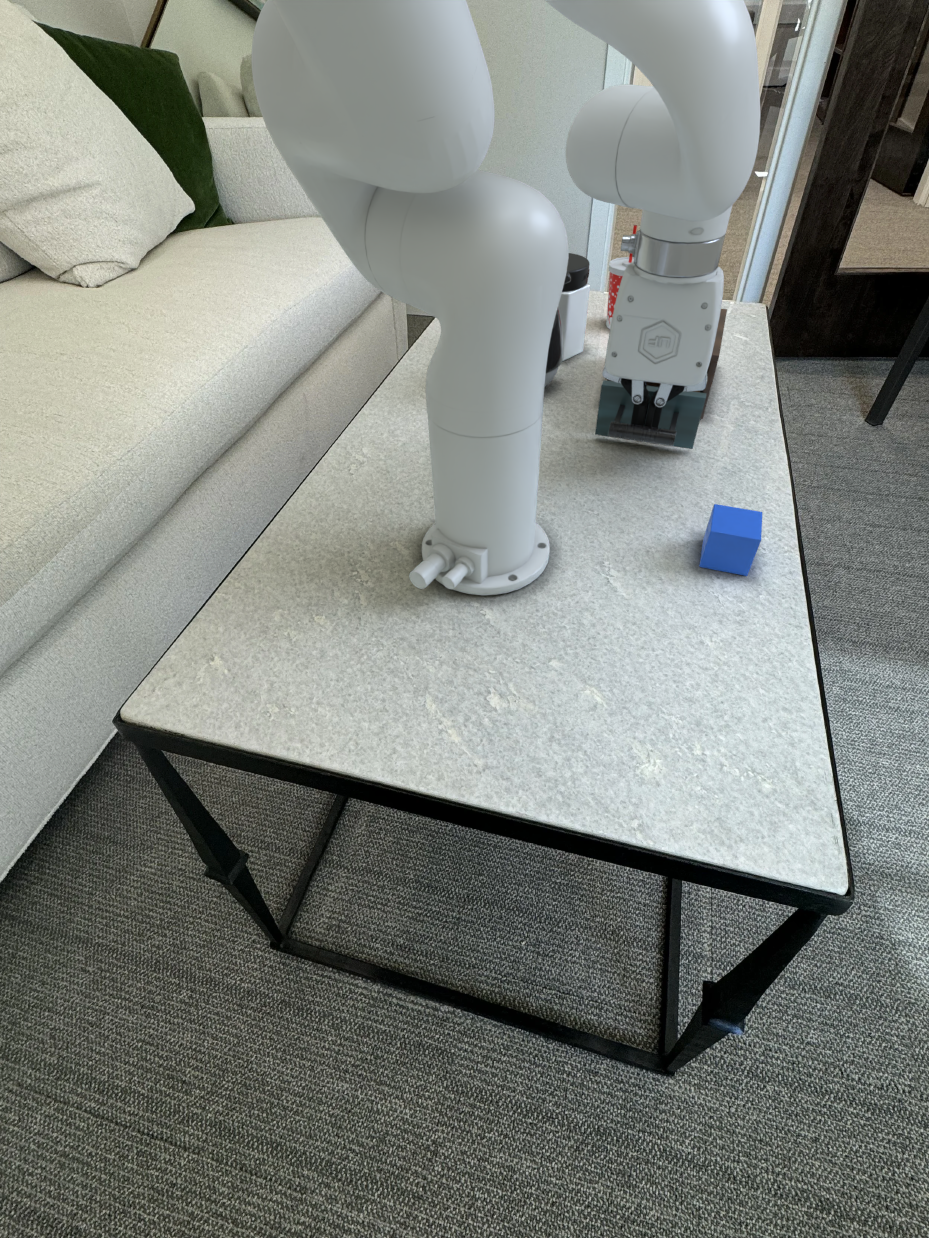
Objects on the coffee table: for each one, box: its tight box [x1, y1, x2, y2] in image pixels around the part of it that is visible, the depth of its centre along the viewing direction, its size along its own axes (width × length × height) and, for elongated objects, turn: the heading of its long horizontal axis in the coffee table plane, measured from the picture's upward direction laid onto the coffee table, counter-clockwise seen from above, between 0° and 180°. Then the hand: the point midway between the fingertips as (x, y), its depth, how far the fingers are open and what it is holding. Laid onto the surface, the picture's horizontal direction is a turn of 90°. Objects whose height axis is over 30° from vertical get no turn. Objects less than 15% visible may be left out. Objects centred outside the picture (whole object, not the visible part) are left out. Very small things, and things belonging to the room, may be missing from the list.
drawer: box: [594, 379, 706, 450], centre depth 76 cm, size 20×11×6 cm, turn 161°
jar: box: [558, 252, 591, 362], centre depth 92 cm, size 9×8×12 cm
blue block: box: [698, 503, 763, 577], centre depth 61 cm, size 4×4×4 cm
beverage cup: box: [605, 224, 638, 330], centre depth 96 cm, size 6×6×14 cm
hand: (643, 433), depth 72 cm, fingers closed
